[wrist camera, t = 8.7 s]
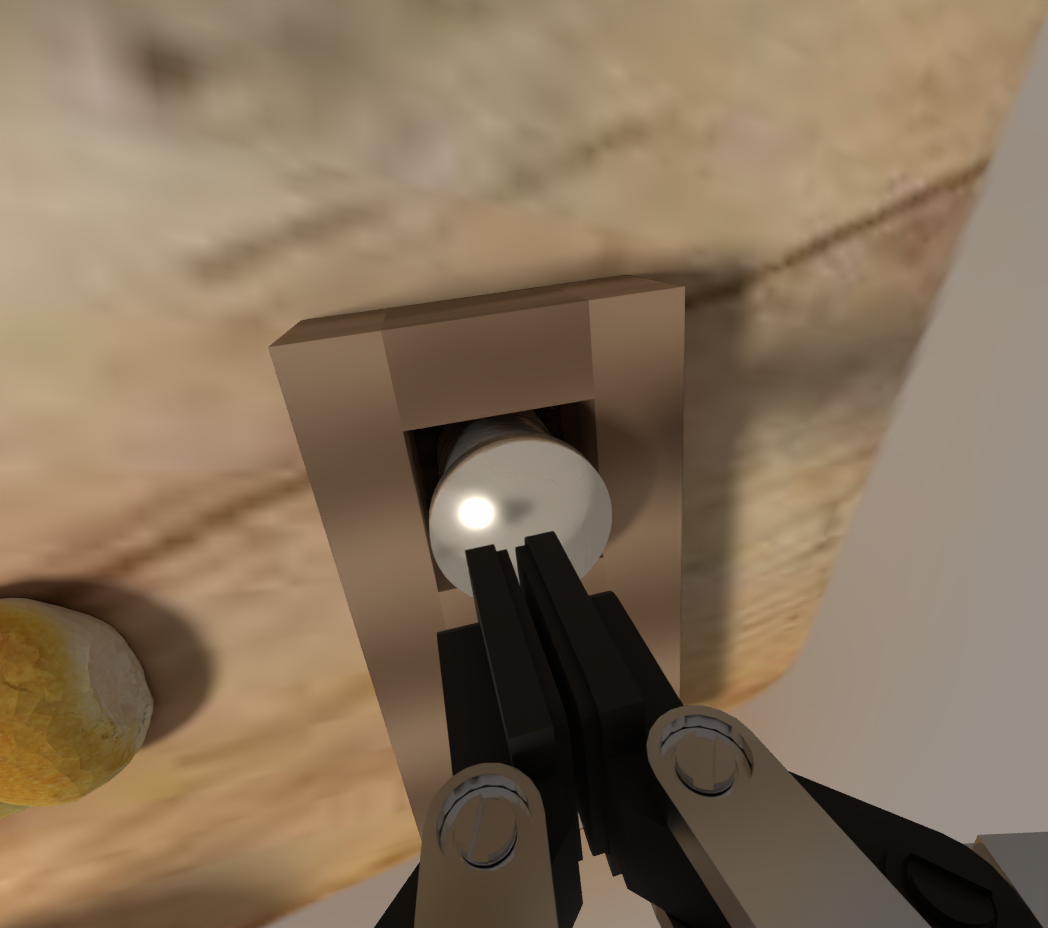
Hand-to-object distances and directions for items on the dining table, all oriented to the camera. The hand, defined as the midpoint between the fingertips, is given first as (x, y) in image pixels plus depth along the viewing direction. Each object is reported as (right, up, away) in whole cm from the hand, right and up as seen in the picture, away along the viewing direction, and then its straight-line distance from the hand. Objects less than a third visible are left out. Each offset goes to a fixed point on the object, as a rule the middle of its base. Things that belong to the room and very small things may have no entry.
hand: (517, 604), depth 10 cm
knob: (-1, +3, +8) cm, 9 cm away
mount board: (0, -1, +10) cm, 10 cm away
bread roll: (-18, -5, +9) cm, 20 cm away
